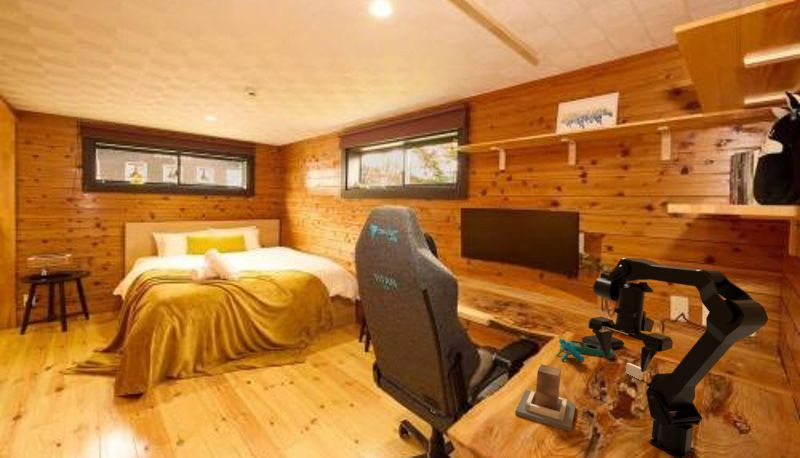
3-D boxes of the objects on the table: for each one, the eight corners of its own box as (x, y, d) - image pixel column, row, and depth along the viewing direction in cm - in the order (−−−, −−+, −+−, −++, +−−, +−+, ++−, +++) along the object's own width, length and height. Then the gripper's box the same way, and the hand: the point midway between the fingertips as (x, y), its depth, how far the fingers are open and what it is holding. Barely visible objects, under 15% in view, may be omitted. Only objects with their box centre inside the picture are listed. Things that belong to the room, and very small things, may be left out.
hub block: (557, 405, 100) (560, 368, 99) (555, 414, 95) (558, 376, 95) (537, 400, 102) (540, 364, 102) (534, 408, 98) (537, 370, 97)
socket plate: (575, 407, 101) (576, 398, 101) (570, 431, 90) (571, 421, 90) (525, 393, 108) (525, 384, 108) (515, 414, 96) (515, 404, 96)
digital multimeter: (614, 360, 137) (615, 352, 137) (570, 352, 142) (570, 345, 142) (610, 353, 144) (611, 345, 144) (568, 346, 149) (568, 339, 149)
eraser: (628, 373, 126) (629, 362, 125) (642, 380, 121) (643, 368, 121) (625, 373, 125) (626, 363, 125) (640, 380, 121) (641, 369, 120)
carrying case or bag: (602, 338, 160) (576, 341, 155) (603, 331, 160) (577, 334, 154) (626, 348, 150) (599, 351, 145) (627, 340, 150) (600, 344, 145)
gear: (591, 362, 129) (571, 340, 129) (579, 374, 128) (560, 353, 128) (573, 353, 140) (555, 334, 140) (562, 365, 139) (544, 345, 139)
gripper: (686, 312, 94) (680, 373, 95) (612, 295, 110) (607, 347, 111) (663, 317, 89) (657, 382, 90) (589, 298, 105) (584, 353, 106)
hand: (624, 364), depth 99 cm, fingers open, 9 cm apart
